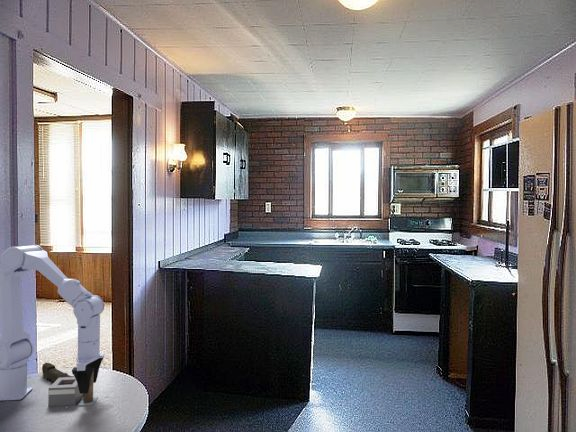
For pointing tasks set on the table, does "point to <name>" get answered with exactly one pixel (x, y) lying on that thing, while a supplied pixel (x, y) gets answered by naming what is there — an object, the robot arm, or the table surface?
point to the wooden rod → (89, 396)
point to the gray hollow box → (64, 392)
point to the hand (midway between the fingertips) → (88, 387)
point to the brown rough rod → (52, 372)
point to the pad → (88, 403)
